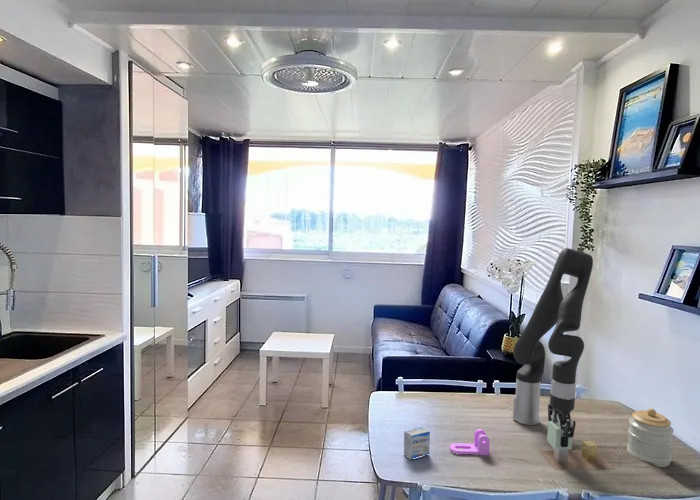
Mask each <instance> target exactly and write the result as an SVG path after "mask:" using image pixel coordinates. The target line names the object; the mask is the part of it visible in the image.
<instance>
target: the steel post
mask: <svg viewBox="0 0 700 500" xmlns="http://www.w3.org/2000/svg"><path fill="white" fill-rule="evenodd" d="M553 450H554V458H555V459H556V460H557V461H558V462H568V450H569V449H554V448H553Z"/></svg>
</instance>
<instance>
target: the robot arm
mask: <svg viewBox="0 0 700 500" xmlns="http://www.w3.org/2000/svg"><path fill="white" fill-rule="evenodd" d="M593 263H594V260H593V256H592V255H591V254H589V253H586V252H583V251H579V250H577V249H576V250H575V249H573V248H568V247H565V248H563V249H562V250H561V251H560V253H559V254H558V256H557V259H556V261H555V264H554V265H553V269H552V271H551V274H550V276H549V279H548V281H547V284H546V286H545V288H544V289H543V291H542V293H541V295H540V297H539V299H538V302H537V303H536V305H535V307H534V310H533V311H532V315H531V317H530V318H529V319H528V322H527V324H526V326H525V328H524V330H523V332H522V333H521V334H520V336H519V338H518V339H517V341H516V342H515V343H514V346H513V351H512V353H513V357H514V360H515V362H517V363H518V364H520V365H522V366H521V367H520V368H519V369H518V370H517V372H516V380H515V395H514V397H513V410H512V420H513V421H516V422H517V423H519V424H522V425H526V426H536V425H538V424H539V422H540V404H541V383H542V382H541V381H542V377H543V375H544V372H545V361H546V350H545V347H544V344H543V343H542V342H541V341H540V340H541V338H542V337H544V336H545V335H546V334H547V333H548V332H549V331H551V329H553V328H554V329H553V331H552V333H551V335H550V337H549V339H548V343H547V346H548V350H549V351H550V353H551V354H552V355H557V356H562V357H569V358H570V359H567V360H559V361H555V362H554V363H553V364H552V373H551V375H552V376H551V383H550V392H549V404H548V403H547V421H552V422H558V425H559V428H560V429H561V443H560V446H561V447H568V438H569V437H571V438H572V439H573V438H574V434H575V430H576V425H577V423H576V420H572V419H571V412H572V411H574V410H575V404H576V390H577V389H576V380H577V379H576V378H577V369H578V364H579V362H580V359H581V357H582V354H583V352H584V349H585V343H584V340H583V338H582V337H580V336H578V335H572V334H565V333H567V332H569V333H570V332H575V331H578V330H579V329H580V327H581V322H582V321H581V320H582V312H583V310H582V309H583V304H584V300H585V295H586V294H587V290H588V287H589V282H590V278H591V274H592V271H593V266H594V264H593ZM564 275H567V276H570V277H574V278H577V281H576V285H575V286H574V287H573V288H572V289H571V290H570V291H569V292H568V293H567V294H566V295H565V296H564V295H563V291H562V279H563V276H564ZM554 326H555V327H554ZM562 425H566V426H562ZM564 429H565V432H564Z"/></svg>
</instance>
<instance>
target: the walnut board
mask: <svg viewBox="0 0 700 500" xmlns="http://www.w3.org/2000/svg"><path fill="white" fill-rule="evenodd" d="M537 452H538V453H539V454H540V455H541V456H542V457H543V458H544V459H545V461H547V462H548V464H549V465H550V466H551V467H552V469H554V471H564V470H565V471H567V470H570V471H571V470H573V471H574V470H606V469H607V470H609V469H613V470H614V469H615V468H614V466H612V465H611V464H610V463H609V462H608V461H607V460H605V459H604V457H602V456H601V455H600V454H598V453H597V460H596V461H593V462H587V461H586V460H585V459H584V458H583V457H582V449H568V462H558V461H557V460H556V459H555V458H554V449H553V450H537Z"/></svg>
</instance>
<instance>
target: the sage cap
mask: <svg viewBox="0 0 700 500" xmlns="http://www.w3.org/2000/svg"><path fill="white" fill-rule="evenodd" d="M547 421H548V420H547ZM562 426H566V425H562ZM564 432H565V429H564ZM546 435H547V436H546V442H548V444H550V446H551V447H552V448H553V450H554V449H568V450H573V438H571V437H569V438H568V447H561V446H560V443H561V429H560V428H559V425H558V422H552V421H548V422H547V434H546Z"/></svg>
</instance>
